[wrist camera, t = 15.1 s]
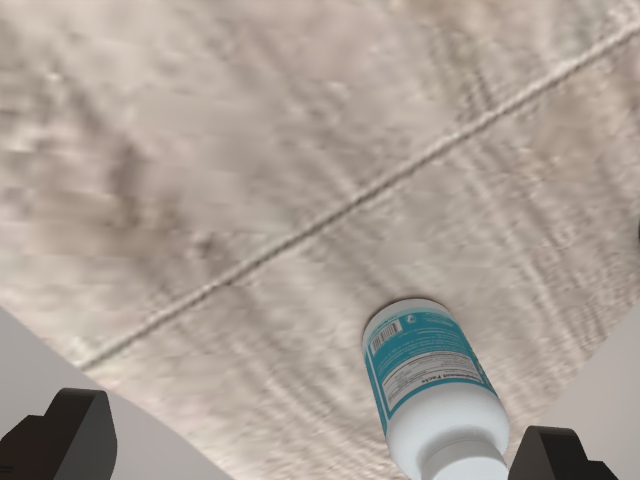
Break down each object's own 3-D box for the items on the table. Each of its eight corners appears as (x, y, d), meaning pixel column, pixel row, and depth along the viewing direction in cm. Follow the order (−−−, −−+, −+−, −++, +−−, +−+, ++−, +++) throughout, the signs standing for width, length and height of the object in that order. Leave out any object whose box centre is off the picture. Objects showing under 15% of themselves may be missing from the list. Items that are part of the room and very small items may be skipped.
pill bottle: (441, 375, 44) (509, 534, 32) (351, 368, 43) (387, 532, 31) (468, 297, 41) (555, 443, 29) (372, 288, 39) (421, 437, 28)
